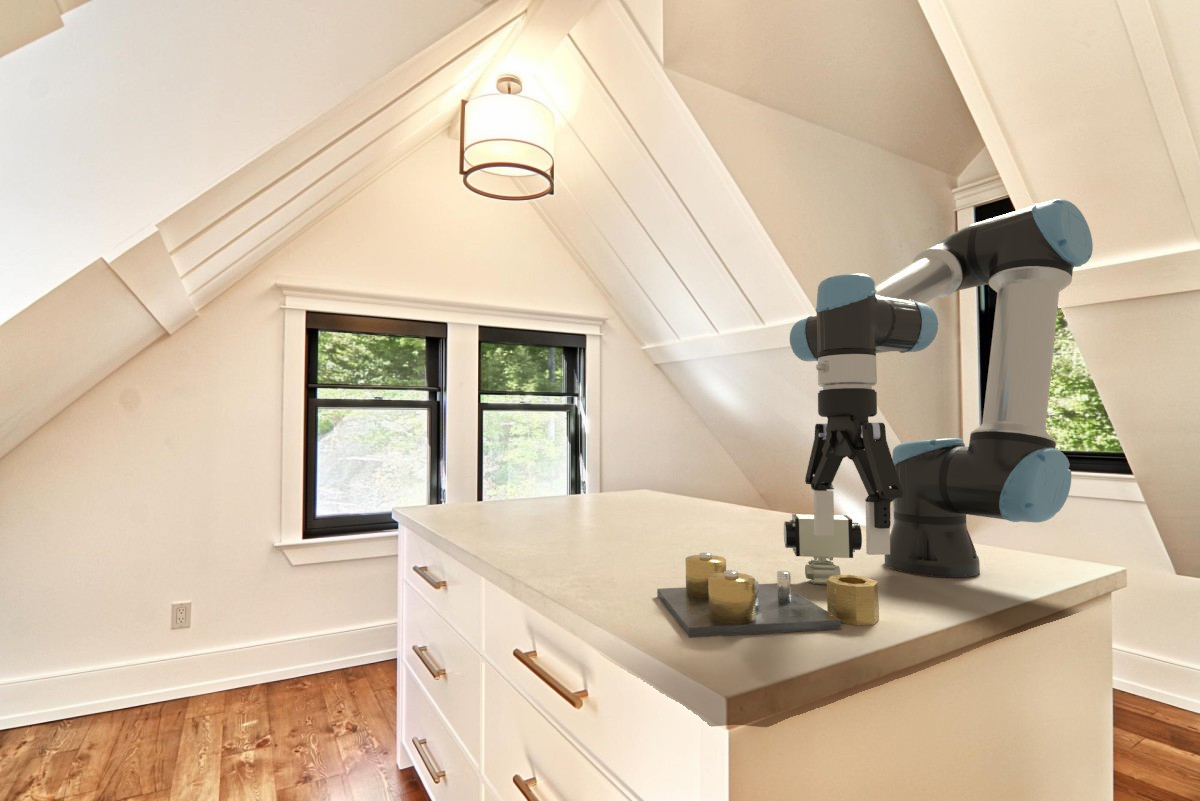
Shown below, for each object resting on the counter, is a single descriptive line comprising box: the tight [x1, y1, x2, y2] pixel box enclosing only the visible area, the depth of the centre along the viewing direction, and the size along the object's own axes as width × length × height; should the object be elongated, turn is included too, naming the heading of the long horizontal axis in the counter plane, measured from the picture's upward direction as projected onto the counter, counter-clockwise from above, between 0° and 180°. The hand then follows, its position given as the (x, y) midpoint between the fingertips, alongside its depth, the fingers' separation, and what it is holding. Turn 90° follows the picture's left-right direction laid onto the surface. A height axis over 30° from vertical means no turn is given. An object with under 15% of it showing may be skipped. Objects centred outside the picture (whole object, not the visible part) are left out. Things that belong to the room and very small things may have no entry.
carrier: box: [656, 552, 842, 639], centre depth 84 cm, size 20×18×7 cm
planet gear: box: [826, 574, 880, 627], centre depth 81 cm, size 6×6×5 cm
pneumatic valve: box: [783, 513, 863, 586], centre depth 100 cm, size 6×12×12 cm, turn 78°
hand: (848, 544), depth 81 cm, fingers open, 13 cm apart
